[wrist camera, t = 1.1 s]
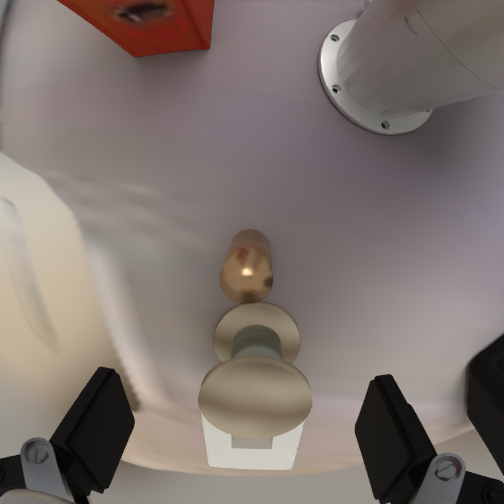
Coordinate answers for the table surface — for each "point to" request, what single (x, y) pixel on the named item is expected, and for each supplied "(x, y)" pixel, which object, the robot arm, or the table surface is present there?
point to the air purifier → (489, 399)
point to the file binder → (150, 23)
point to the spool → (255, 374)
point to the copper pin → (247, 268)
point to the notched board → (250, 449)
